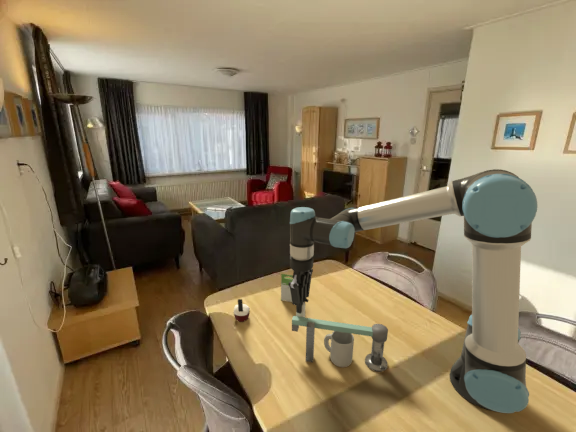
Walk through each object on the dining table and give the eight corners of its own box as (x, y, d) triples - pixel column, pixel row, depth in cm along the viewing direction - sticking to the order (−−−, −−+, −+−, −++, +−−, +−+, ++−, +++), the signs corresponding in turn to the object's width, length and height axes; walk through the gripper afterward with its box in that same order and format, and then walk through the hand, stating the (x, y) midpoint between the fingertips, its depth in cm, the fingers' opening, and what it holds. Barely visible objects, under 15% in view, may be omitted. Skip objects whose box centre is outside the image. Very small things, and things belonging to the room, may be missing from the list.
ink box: (298, 298, 128) (298, 271, 124) (295, 303, 124) (296, 276, 121) (283, 295, 130) (283, 269, 126) (280, 300, 126) (280, 273, 123)
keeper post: (313, 357, 94) (314, 322, 91) (312, 362, 92) (314, 327, 88) (306, 356, 95) (307, 321, 91) (305, 361, 93) (306, 326, 89)
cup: (347, 371, 89) (349, 348, 86) (318, 358, 94) (319, 335, 91) (355, 356, 95) (357, 334, 92) (328, 345, 100) (329, 323, 97)
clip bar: (385, 338, 91) (387, 324, 90) (387, 348, 87) (388, 334, 86) (293, 324, 98) (294, 311, 96) (290, 333, 93) (291, 320, 92)
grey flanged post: (391, 364, 92) (394, 339, 89) (379, 375, 87) (382, 350, 85) (372, 351, 97) (375, 328, 94) (360, 362, 92) (363, 337, 90)
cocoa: (239, 312, 118) (238, 286, 116) (253, 314, 117) (252, 288, 114) (229, 326, 109) (226, 298, 107) (243, 328, 108) (242, 300, 105)
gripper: (300, 246, 97) (299, 306, 104) (280, 260, 86) (281, 326, 93) (320, 251, 93) (318, 312, 100) (302, 266, 83) (301, 334, 89)
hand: (300, 318), depth 96 cm, fingers closed
